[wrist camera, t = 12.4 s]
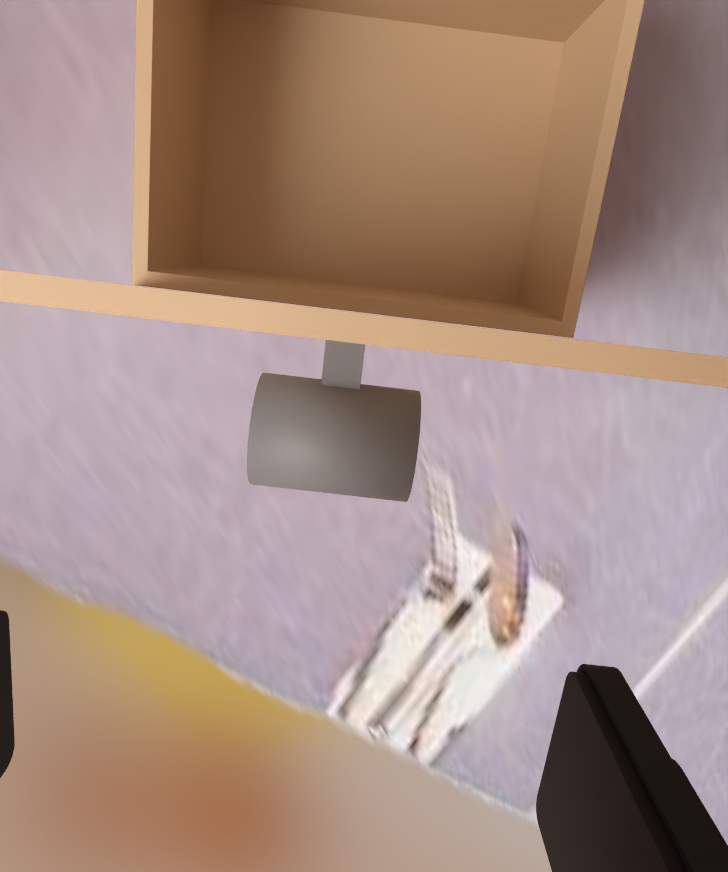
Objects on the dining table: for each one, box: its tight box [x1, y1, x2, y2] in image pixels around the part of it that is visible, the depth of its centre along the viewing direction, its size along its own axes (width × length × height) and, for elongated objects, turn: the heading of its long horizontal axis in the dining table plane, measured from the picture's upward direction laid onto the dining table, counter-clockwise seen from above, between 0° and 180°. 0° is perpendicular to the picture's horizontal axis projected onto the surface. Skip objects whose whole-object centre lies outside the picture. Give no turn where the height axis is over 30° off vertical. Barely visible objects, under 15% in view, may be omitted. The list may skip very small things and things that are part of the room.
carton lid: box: [0, 270, 728, 502], centre depth 26 cm, size 18×24×6 cm
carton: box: [132, 0, 644, 338], centre depth 38 cm, size 18×24×12 cm
